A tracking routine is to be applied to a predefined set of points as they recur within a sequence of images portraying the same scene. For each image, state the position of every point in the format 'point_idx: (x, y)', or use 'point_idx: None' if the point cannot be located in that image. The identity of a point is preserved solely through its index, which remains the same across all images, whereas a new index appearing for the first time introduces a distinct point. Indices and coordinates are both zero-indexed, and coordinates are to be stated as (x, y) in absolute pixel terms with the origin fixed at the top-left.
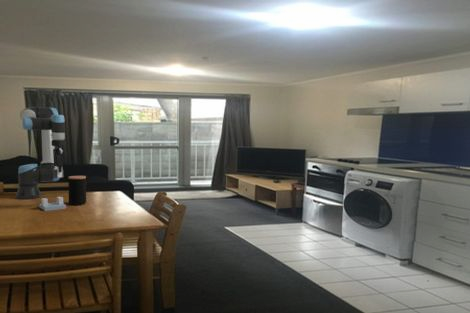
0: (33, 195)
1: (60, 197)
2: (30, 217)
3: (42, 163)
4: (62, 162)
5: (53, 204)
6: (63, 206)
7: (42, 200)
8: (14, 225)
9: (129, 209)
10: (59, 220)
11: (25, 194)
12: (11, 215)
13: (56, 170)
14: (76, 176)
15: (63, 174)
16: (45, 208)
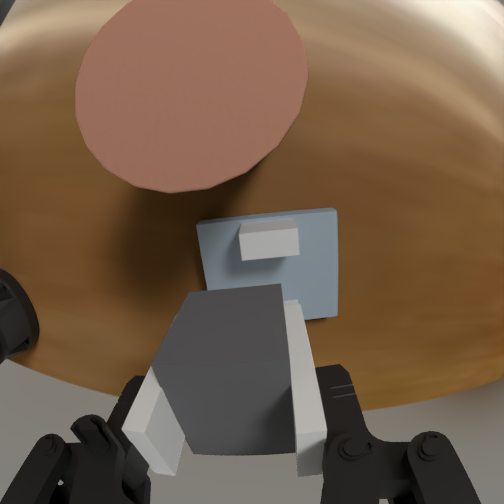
0: (22, 306)
1: (273, 242)
2: (410, 354)
3: None
4: (462, 498)
5: (273, 269)
6: (335, 224)
7: None
8: (458, 378)
9: (458, 2)
10: (498, 275)
11: (26, 335)
12: None
13: (294, 433)
14: (144, 79)
15: (283, 305)
16: (335, 311)
